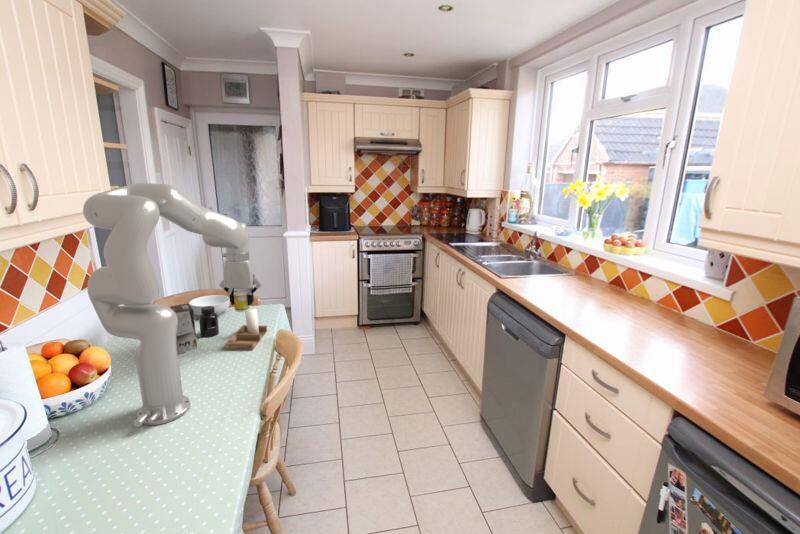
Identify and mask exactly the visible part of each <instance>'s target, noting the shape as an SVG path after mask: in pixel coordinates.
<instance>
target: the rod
mask: <svg viewBox="0 0 800 534" xmlns="http://www.w3.org/2000/svg"><path fill="white" fill-rule="evenodd" d="M244 313H245V322H246V325H247V332H248V334H259V326H260V325H259V317H258V309H257V308H254V307H252V308H251V307H250V310H248V311H246V312H244Z"/></svg>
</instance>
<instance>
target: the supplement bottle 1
mask: <svg viewBox="0 0 800 534" xmlns="http://www.w3.org/2000/svg"><path fill="white" fill-rule="evenodd" d="M201 313H202V314H201V315H198V321H199V322H198V323H199V333H200V337H201V338H206V339H207V338H208V339H209V338H213V337H216V336H218V335H219V333H220V330H219V329H220V328H219V315H217V314H216V313H215V309H214V307H213V306H206V307H202V308H201Z"/></svg>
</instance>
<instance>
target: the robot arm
mask: <svg viewBox="0 0 800 534" xmlns="http://www.w3.org/2000/svg"><path fill="white" fill-rule="evenodd" d="M82 212H83V217H84V218H85V220H86V221H87V223H89V224H90V225H91V226H93V227H94V228H95V227H96V228H98V229H103V230H111V232H110V234H109V235H108V237H107V239H106V241H105V244H104V247H103V257H104V260H105V265H106V266H100V267H99V268H97V269H95V270H94V271H93V272H92V273H91V274H90V275H89V277H88V280H87V285H86V286H87V287H86V290H87V296H88V297H89V300H90V303H91V304H92V307H93V308H94V311H95V313H96V315H97V318H98V319H99V321H100V323H101V325H102V327H103V328H104V330H105V332H107V333H108V334H109V335H111V336H113V337H116V338H122V339H123V338H124V339H130V340H131V339H133V340H136V341H137V340H138V341H139V342H140V345H139V347H138V349H137V351H136V352H135V353H136V354H135V365H136V371H137V377H138V383H139V389H140V398H141V401H142V402H141V403H142V406H141V407H140V408H139V410H138V411H137V414H136V417H137V418H136V419H135V420H134V422H133V425H134V426H135V427H137V428H138V427H141V426H142V425H148V426H155V425H162V424H166V423H170V422H172V421H174V420H176V419H179V418H180V417H181V416H183V415H184V414H186V412H187V411H189V409H190V407H191V401H190V398H189V397H188V396H185V395H183V387H182V386H183V385H182V378H181V372H180V371H181V369H180V364H179V361H180V360H179V355H178V354H179V353H178V350H177V344H176V335H177V326H178V318H177V315H176V313H175V312H174V311H173V310H172V309H171V308H170V306H166V305H163V304H157V303H156V304H155V301H156V300H157V299H158V298H159V296H160V290H161V289H160V285H159V282H158V279H157V276H156V272H155V271H154V268H153V265H152V263H151V259H150V256H149V252H148V242H149V239H150V236H151V234H152V232H153V231H154V229H155V228H156V226H157V224H158V223H159V219H160V217H162V218H164V219H166V220H167V221H169V222H170V223H172V224H175V225H176V226H178V227H180V228H181V229H183V230H184V231H187V232H189V233H194V234H197V235H201V236H202V237H201V238H202V241H203V243H204V244H206V245H207V246H209V247H212V248H220V249H221V248H224V249H225V253H222V257H223V258H226V260H224V261H223V263H224V264H223V279H222V281H221V282H220V283H219V284H218V286H219V287H220V288H222V289H223V290H224V291H225V292H226V293H227V295H229V296H228V297H229V299H230V304H231V306H235V305H234V294H233V293H234V291H236V290H235V288H237V289H247V292H248V295H247V300H248V305H250V306H251V305H253V303H254V299H255V298H254V293H255V292H256V291H257V290H259V289H260V288H261V287H262V283H261V282H260V281H259V280H258V279H257V278H256V273H255V269H254V268H255V267H254V264H253V261H252V259H250V250H249V248H250V247H249V239H250V238H249V233H248V225H247V224H246V223H245V222H242V221H237V220H236V219H234V218H232V217H230V216H227V215H225V214H222V213H219V212H217V211H215V210H212V209H210V208H207V207H205V206H203V205H201V204H200V203H198V202H197V201H195V200H194V199H192V198H191V197H189V196H188V195H187V194H185V193H184V192H183V191H181V190H180V189H179V188H177V187H175V186H173V185H170V184H166V183H165V184H164V183H149V182H145V183H144V182H138V183H132V184H129V185H125V186H120V187H116V188H114V189H110V190H109V189H108V190H105V191H102V192H98V193H95V194H93V195H90V197H88V199H86V201H85V202H84V204H83V207H82ZM254 285H255V286H254Z"/></svg>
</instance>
